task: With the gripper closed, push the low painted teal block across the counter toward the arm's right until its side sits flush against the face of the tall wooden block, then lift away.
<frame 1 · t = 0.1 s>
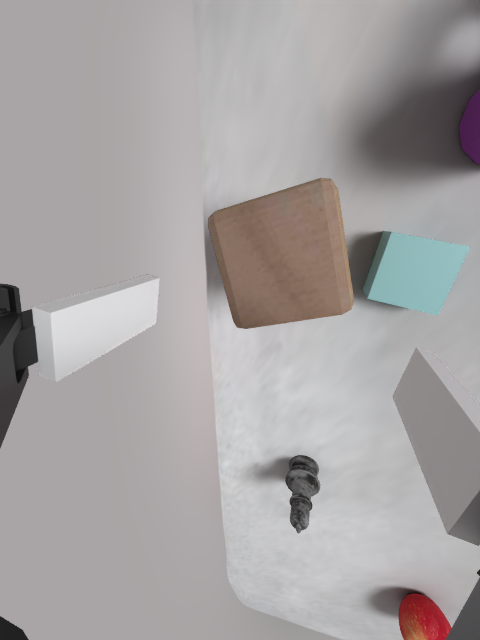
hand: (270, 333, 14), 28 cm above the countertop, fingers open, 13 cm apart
grey chess piece: (303, 466, 51), on the countertop
wooden block: (299, 245, 39), on the countertop
apple: (418, 597, 53), on the countertop
teal block: (403, 268, 36), on the countertop
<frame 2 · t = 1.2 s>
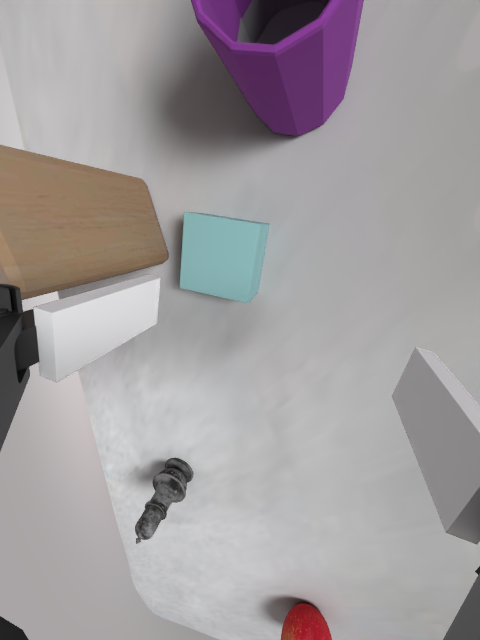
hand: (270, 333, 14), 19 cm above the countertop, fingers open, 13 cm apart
grey chess piece: (179, 469, 48), on the countertop
mug: (298, 40, 25), on the countertop
wooden block: (130, 230, 36), on the countertop
apple: (308, 607, 50), on the countertop
teal block: (231, 253, 33), on the countertop
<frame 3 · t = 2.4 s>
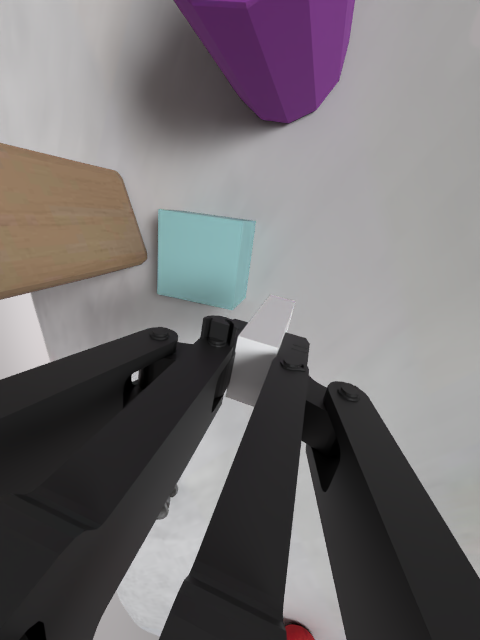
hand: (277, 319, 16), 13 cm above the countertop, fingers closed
mug: (288, 12, 22), on the countertop
wooden block: (105, 228, 33), on the countertop
apple: (299, 628, 48), on the countertop
teal block: (215, 254, 30), on the countertop
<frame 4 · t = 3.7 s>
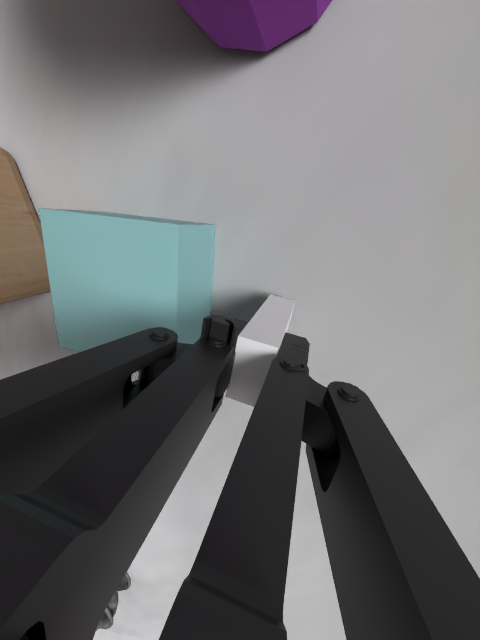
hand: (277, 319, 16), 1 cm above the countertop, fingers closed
grey chess piece: (113, 571, 34), on the countertop
wooden block: (3, 236, 22), on the countertop
teal block: (159, 278, 19), on the countertop
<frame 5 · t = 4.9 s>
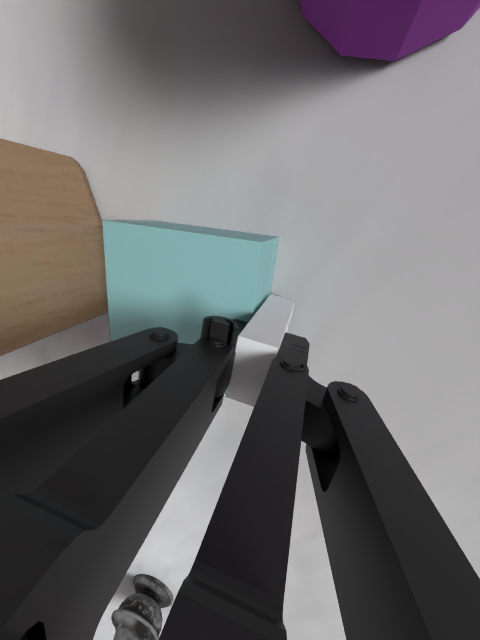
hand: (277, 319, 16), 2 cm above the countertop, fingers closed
grey chess piece: (154, 588, 33), on the countertop
wooden block: (63, 249, 21), on the countertop
teal block: (211, 290, 19), on the countertop, touching gripper
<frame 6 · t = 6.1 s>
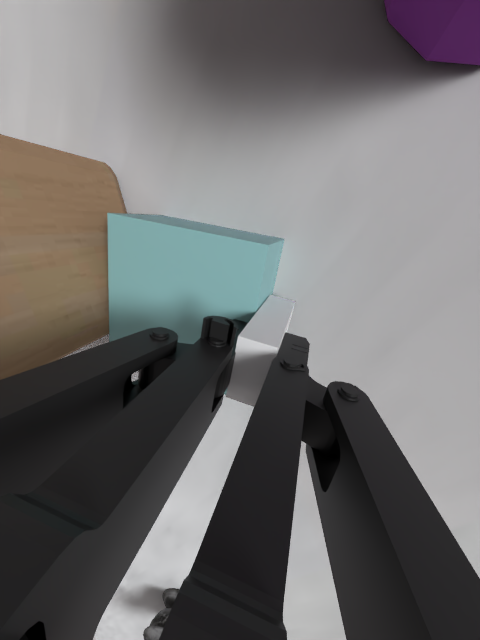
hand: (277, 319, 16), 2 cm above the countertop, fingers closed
grey chess piece: (184, 602, 32), on the countertop
wooden block: (87, 253, 21), on the countertop, touching teal block
teal block: (212, 288, 18), on the countertop, touching gripper, wooden block
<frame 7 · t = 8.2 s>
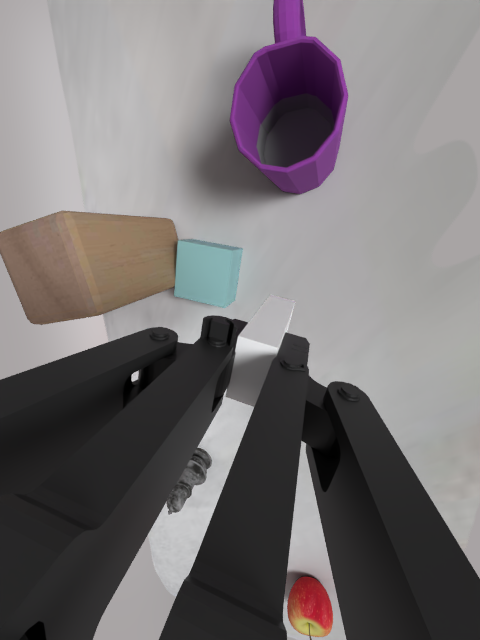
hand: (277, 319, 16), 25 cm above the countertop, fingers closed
grey chess piece: (199, 457, 56), on the countertop
mug: (299, 127, 34), on the countertop
wooden block: (157, 256, 45), on the countertop
apple: (310, 580, 58), on the countertop
teal block: (214, 269, 43), on the countertop
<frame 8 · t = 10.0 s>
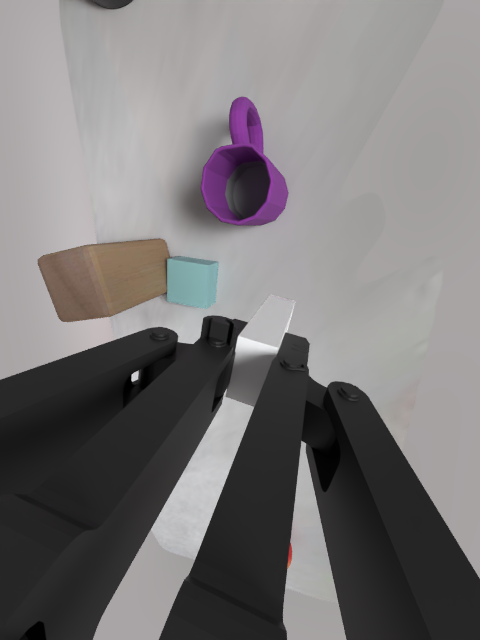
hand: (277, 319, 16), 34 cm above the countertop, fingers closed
mug: (260, 175, 46), on the countertop
wooden block: (153, 267, 57), on the countertop
teal block: (198, 279, 55), on the countertop
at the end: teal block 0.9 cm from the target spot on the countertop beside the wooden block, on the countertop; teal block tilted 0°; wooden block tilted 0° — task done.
